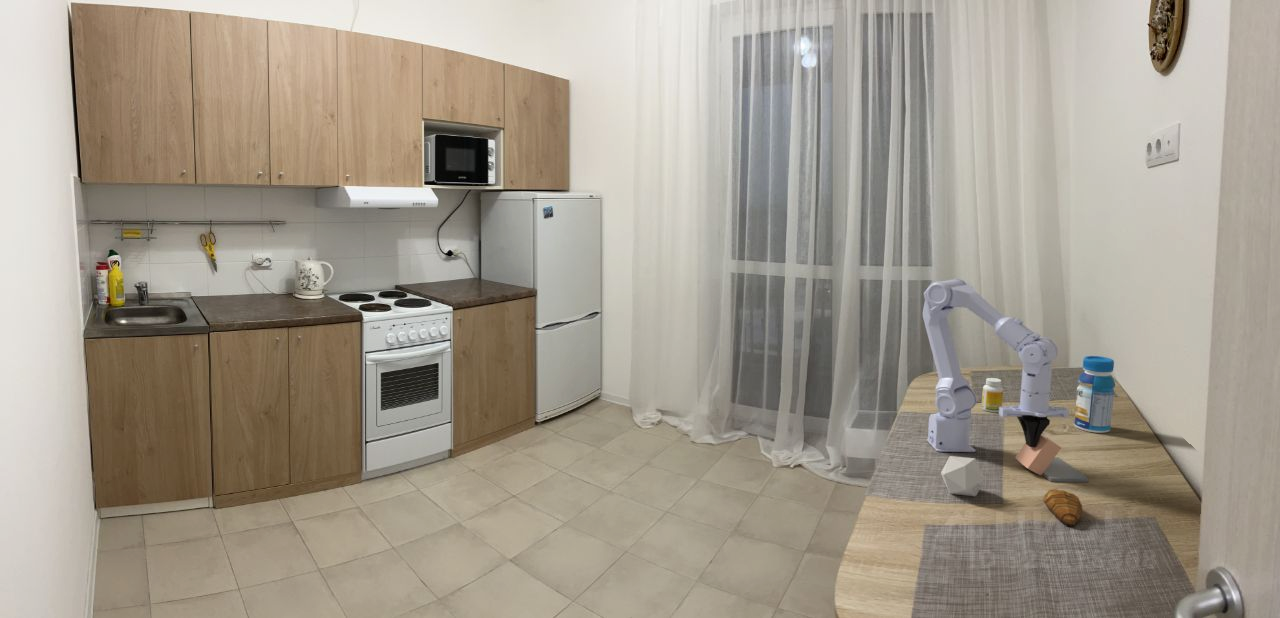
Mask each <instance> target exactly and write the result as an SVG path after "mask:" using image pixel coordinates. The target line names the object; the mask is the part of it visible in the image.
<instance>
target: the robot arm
mask: <svg viewBox="0 0 1280 618" xmlns="http://www.w3.org/2000/svg"><path fill="white" fill-rule="evenodd" d="M923 296H924V304H923V310H922V318H923V323H924V326H925V331H926V334H927V337H928V341H929V346H930V350H931V353H932V356H933V362H934V364H935V368H936V372H937V376H938V377H937V378H938V381H937V383H936V386H935V390H934V391H935V402H934V403H935V404H934V405H935V407H936V410H937V411H938V412H937V413H931V414H930V415H929V417H928V430H927V438H926V441H927V442H928V443H929V445H931V446H932V447H933V449H934V450H935V451H936V452H941V453H942V452H944V453H945V452H946V453H947V452H948V453H949V452H952V453H953V452H954V453H955V452H957V453H960V452H961V453H976V449H975V448H974V447H973V446H971V444H970V437H971V436H970V434H971V433H970V432H971V423H972V422H971V419H972V409H973V408H975V406H977V402H978V398H977V394H976V393H975V391H974V390H973V389H972V388H971V385H970V382H969V380H968V379H966V378H965V377H964V376H963V375H962V372H961V370H962V369H961V367H960V364H959V360H958V356H957V353H956V351H957V350H956V347H955V344H954V341H953V337H952V333H951V329H950V326H949V325H950V324H949V323H948V322H949V321H948V316H949V314H950V313H951V312H952V310H953V309H955V308H966V309H968V310H969V311H970V312H972V313H973V314H974V315H976V316H978V317H979V318H981V319H982V320H983V321H984V322H985V323H987V324H989V325H990V326H991V327H993V330H994V335H995V336H996V337H997V338H999V339H1000V340H1001V341H1003V342H1004V343H1005V344H1007V346H1008V347H1010V348H1011V349H1012V350H1013V351H1015V352H1016V353H1018V358H1019V360H1020V362H1021V363H1022V371H1021V387H1020V398H1019V404H1018V405H1008V406H1002V407H999V412H998V415H999V416H1000V417H1001V418H1008V417H1012V418H1013V417H1016V419H1018V421H1019V424H1020V426H1021V428H1022V429H1021V430H1022V431H1023V436H1024V440H1025V443H1026V444H1027V445H1028V446H1029V447H1036V445H1037V443H1038V440H1039V438H1040V436H1041V435H1043V433H1044V431H1045V430H1046V429H1047V427H1048V426H1049V425H1050V423H1051V420H1050V419H1048V418H1050V417H1051V418H1052V417H1053V418H1061V417H1062V418H1063V419H1069V416H1070V409H1068V408H1066V407H1064V406H1061V407H1060V406H1051V405H1050V398H1051V397H1050V395H1051V384H1052V383H1051V382H1052V373H1053V372H1052V371H1053V370H1052V369H1053V361H1055V359H1056V358H1057V356H1058V353H1059V350H1058V347H1057V345H1056V344H1055V343H1054V342H1053V341H1052V339H1050V338H1048V337H1041V335H1040V334H1039V333H1035V332H1033V331H1032V330H1031V329H1030V328H1028V327H1027V326H1026V325H1025V324H1023V323H1024V321H1023V319H1021V318H1015V317H1011V316H1009V317H1008V316H1007V317H1006V316H1005V315H1004V314H1002V313H1001V312H999V310H997V308H995V307H994V306H993V305H992V304H991V303H989V302H988V301H987V300H986V299H985V298H983V296H981V294H979V293H978V292H977V291H976V289H974V287H973V286H972V285H970V284H969V283H968V284H967V283H966V281H964V280H963V279H961V278H957V277H956V278H951V279H948V280H942V281H934V282H932V283H931V284H929V285H928V287H927V288H926V290H925V291H924V292H923Z"/></svg>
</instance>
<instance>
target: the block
mask: <svg viewBox="0 0 1280 618" xmlns="http://www.w3.org/2000/svg"><path fill="white" fill-rule="evenodd" d="M1061 450H1062V447H1061V446H1060V445H1058V444H1057V443H1056V442H1054V441H1053V440H1051V439H1049V437H1046V436H1044V435H1043V434H1041V436H1040V438H1039V440H1038V443H1037V445H1036V447H1029V446H1028V445H1027V444H1026V442H1025V444H1024V445H1023V446H1022V447H1021V449H1020V450H1019V452H1017V454H1016V456H1015V460H1017V461H1018V462H1019V463H1020V464H1021V465H1022V466H1024V467H1025V468H1027V469H1028V470H1029V471H1031V472H1033V473H1035V474H1037V475H1039V476H1043V475H1042V474H1043V473H1044V471H1045V470H1046V469H1047V467H1048V466H1049V464H1050V463H1051V462H1052V460H1053V459H1054V458H1055V457H1057V455H1058V454H1059V452H1061Z"/></svg>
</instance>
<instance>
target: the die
mask: <svg viewBox="0 0 1280 618" xmlns="http://www.w3.org/2000/svg"><path fill="white" fill-rule="evenodd" d="M977 461H978V460H977V459H976V458H975V457H974V458H973V457H972V458H971V457H964V456H955V455H953V456H951V455H950V456H949V457H948V459H947V460H946V462H945V465H944V466H943V468H942V469H941V472H940V475H941V477H942V479H943V481H944V484H945V486H946V488H947V490H948V493H949V495H957V496H959V495H961V496H967V497H977V494H978V492H979V491H980V489H981V487H982V486H983V484H984V483H985V481H986V477H985V475H984V473H983V471H982V470H981V467H980V465H979V463H978V462H977Z"/></svg>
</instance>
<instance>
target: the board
mask: <svg viewBox="0 0 1280 618" xmlns="http://www.w3.org/2000/svg"><path fill="white" fill-rule="evenodd" d="M1041 476H1043V477H1044V478H1046V480H1048V481H1049V482H1053V483H1054V482H1055V483H1062V482H1063V483H1067V482H1068V483H1088V481H1089V478H1087V476H1085V475H1084V474H1082V473H1081V472H1080V471H1078V470H1077V469H1076V468H1074V467H1073V466H1072V465H1070V464H1069V463H1067V462H1066V461H1064V460H1063V459H1062V458H1061V457H1058V456H1055V458H1054V459H1053V460H1052V462H1051V463H1050V464H1049V466H1048V467H1047V469H1046V470H1045V471H1044V473H1043V474H1042V475H1041Z"/></svg>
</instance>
